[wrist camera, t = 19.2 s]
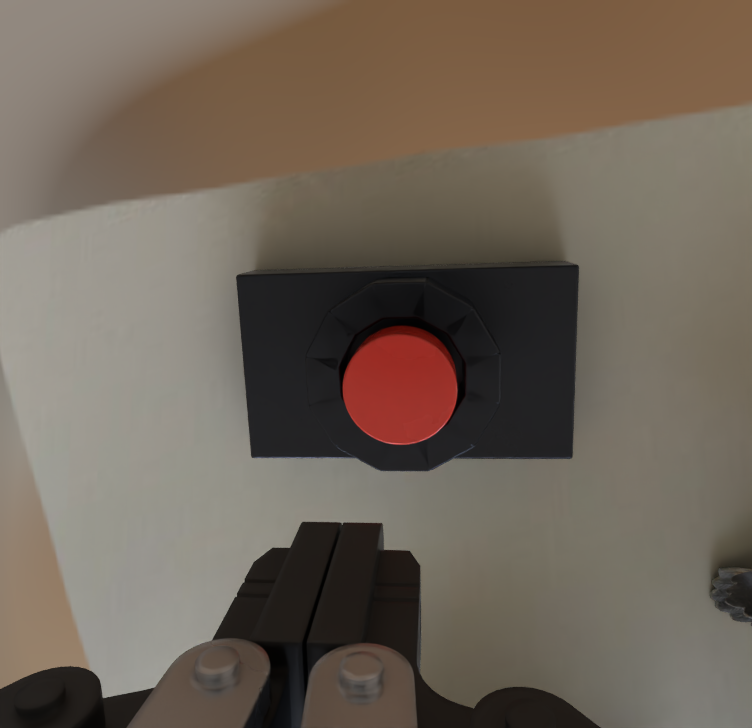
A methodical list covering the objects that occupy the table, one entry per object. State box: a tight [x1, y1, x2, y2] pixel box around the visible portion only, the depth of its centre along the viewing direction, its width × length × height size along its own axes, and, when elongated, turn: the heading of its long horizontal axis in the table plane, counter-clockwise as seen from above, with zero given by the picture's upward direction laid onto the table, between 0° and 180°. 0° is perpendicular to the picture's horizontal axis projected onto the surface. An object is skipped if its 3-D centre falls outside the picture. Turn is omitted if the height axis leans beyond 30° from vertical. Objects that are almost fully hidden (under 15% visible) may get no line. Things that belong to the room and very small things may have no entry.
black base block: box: [236, 261, 579, 471], centre depth 23 cm, size 12×7×4 cm, turn 92°
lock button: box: [343, 325, 458, 445], centre depth 20 cm, size 4×4×2 cm
